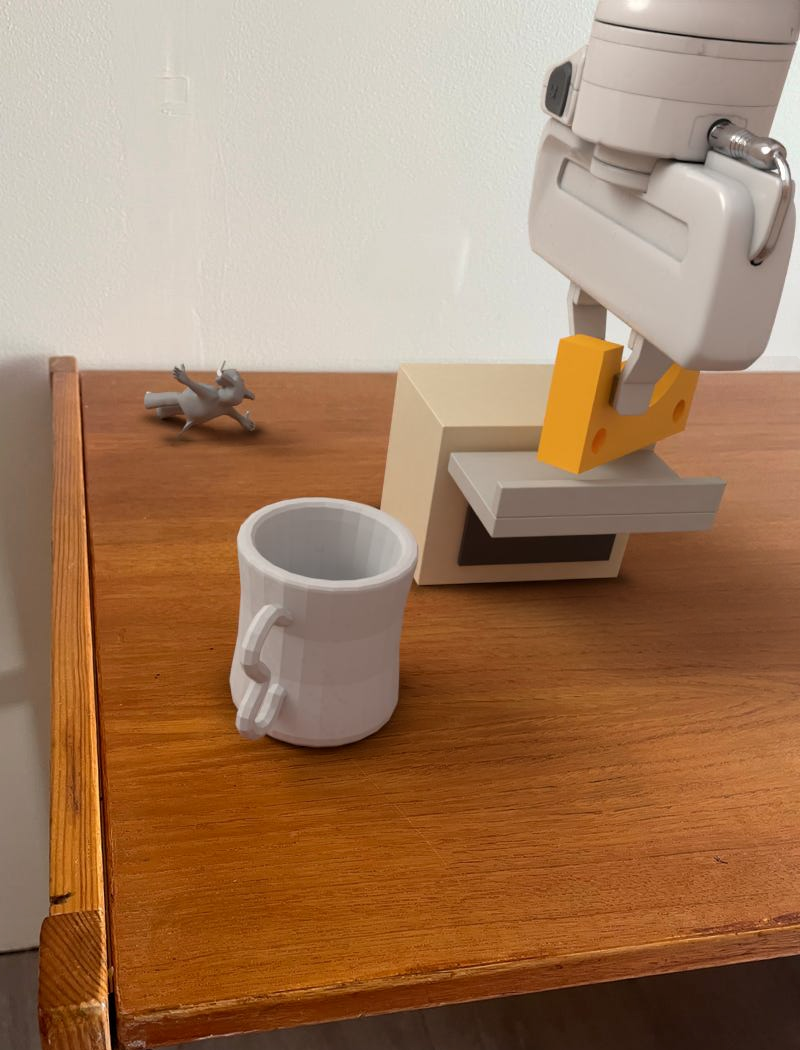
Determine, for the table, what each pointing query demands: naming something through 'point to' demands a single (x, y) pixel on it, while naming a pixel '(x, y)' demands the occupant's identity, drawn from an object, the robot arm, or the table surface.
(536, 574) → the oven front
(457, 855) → the table surface
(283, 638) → the mug
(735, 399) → the table surface
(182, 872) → the table surface
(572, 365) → the pipe clamp
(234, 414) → the grey sculpted figure
